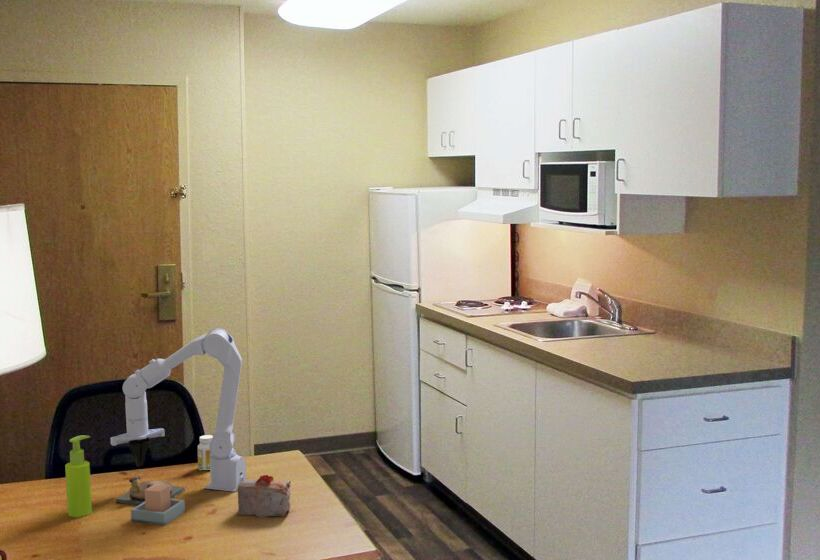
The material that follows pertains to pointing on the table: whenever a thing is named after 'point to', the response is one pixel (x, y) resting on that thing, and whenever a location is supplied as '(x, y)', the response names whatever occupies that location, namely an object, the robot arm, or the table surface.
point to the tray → (158, 513)
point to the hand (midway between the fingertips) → (139, 465)
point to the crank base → (130, 500)
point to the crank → (143, 487)
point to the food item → (264, 497)
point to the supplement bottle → (204, 452)
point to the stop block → (157, 498)
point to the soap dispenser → (78, 481)
